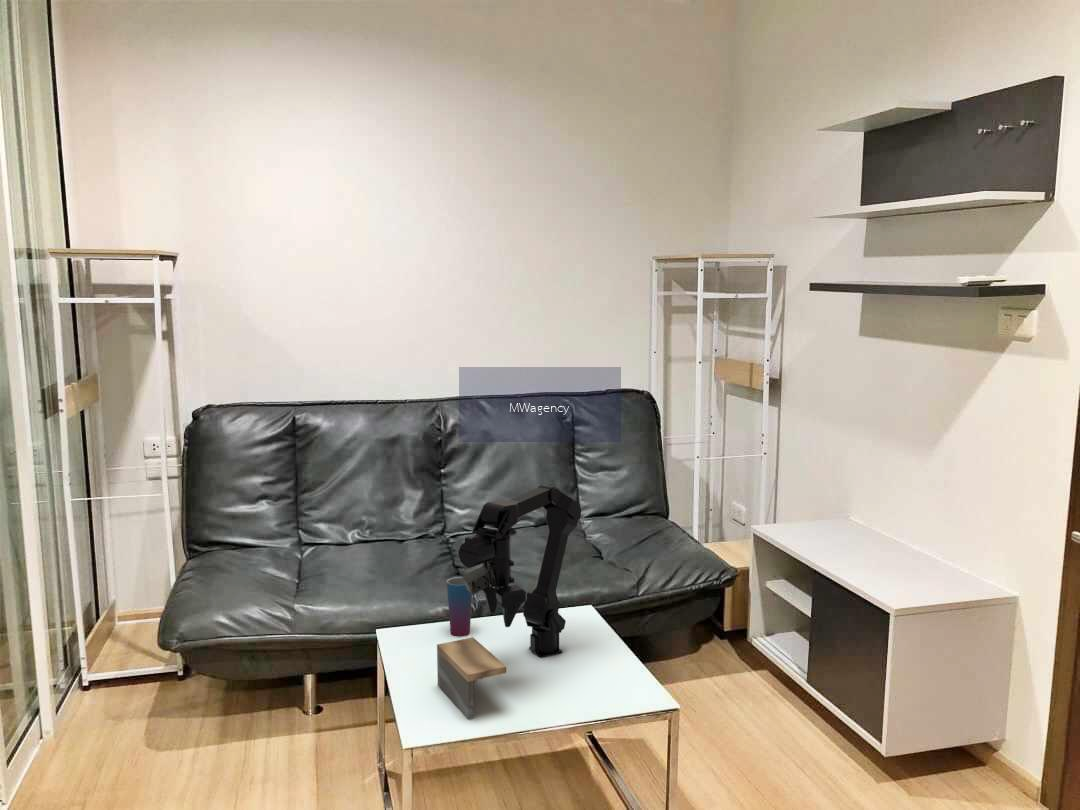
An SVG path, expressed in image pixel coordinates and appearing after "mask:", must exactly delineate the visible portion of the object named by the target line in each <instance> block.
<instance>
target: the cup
mask: <svg viewBox="0 0 1080 810" xmlns="http://www.w3.org/2000/svg"><path fill="white" fill-rule="evenodd" d="M462 577H463V576H454V577H451V578H448V579H447V580H446V589H447V601H448V602H447V605H448V616H449V617H448V619H449V630H450V634H451V636H453V637H458V638H459V637H460V638H461V637H466V636H469V634H470V633H471V620H472V619H471V617H472V602H473V601H472V599H473V597H472V596H473V594H471V593H470V591H468V590H467V589H466V586H465V584H464V581H463V579H462Z"/></svg>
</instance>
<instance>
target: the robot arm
mask: <svg viewBox="0 0 1080 810" xmlns="http://www.w3.org/2000/svg"><path fill="white" fill-rule="evenodd" d="M580 505H581V504H580V503H579V502H578V501H577V500H574V499H573V498H571V497H570V496H568V495H566V494H565V493H563V492H562V491H561V490H560V489H559V488H557V487H555V486H551V485H547V484H546V485H545V484H541V485H539V486H537V488H534V489H532V490H530V491H528V492H525V493H522V494H519V496H515V497H513V498H510V499H506V500H504V499H503V500H494V501H493V500H492V501H488V502H485V503H484V505H483V506H482V508H481V510H480V513H479V515H478V517H477V520H476V522H475V524H474V527H473V529H472V531H471V533H472V534H473V535H472V536H471V535H469V536H465V538H464V543H461V545H460V546H459V550H457V551H458V559H459V561H460V562H461V564H462V565H463V567H466V568H467V569H472V568H474V567H477V566H480V565H481V564H482V565H481V567H478V568H475V569H473V570H471V571H470V572H468V573H466V574H464V575H463V576H461V577H462V579H463V581H464V584H465V586H466V589H467V590H468V591H470V593H471V594H472V595H475V594H477V593H479V592H483V595H484V597H485V601H486V604H487V608H488V611H489V614H491V615H492V614H495V613H496V610H497V608H498V607H497V606H498V605H499V606H500V607H501V611H502V616H503V622H504V627H505V628H510V627H511V625H512V623H513V621H514V619H515V616H517V615H516V614H517V613H518V611H519V609H520V607H521V606H522V604H523V606H522V609H523V613H522V615H523V617H524V619H525V622H526V627H530V628H531V634H530V636H529V637H530V639H529V640H530V642H529V643H530V645H529V647H528V650H530V651H531V652H533V654H535V655H536V656H537V657H538V658H545V657H546V658H547V657H550V656H554V655H555V656H556V655H559V654H563V650H562V649H561V648H560V633H562V631H563V630H564V629H565V626H566V619H565V618H564V617H563V616H562V615H561V614H560V613H559V608H560V603H559V598H558V596H557V595H558V594H557V587H558V583H559V579H560V575H561V569H562V564H563V561H564V556H565V553H566V548H567V542H568V539H569V535H571V533H572V532H574V530H575V529H576V528H577V527H578V524H579V521H580V517H581V515H582V508H581V506H580ZM541 508H543V509H544V510H545V511H546V513H545V514H546V517H545V520H546V524H547V528H548V536H547V540H546V544H545V549H544V553H543V557H542V562H541V565H540V570H539V573H538V579H537V584H536V587H535V588H534V589H533V590H532V591H531V592H527V591H525V589H524V588H522V587H521V586H519V585H518V584H513V583H515V578H514V577H513V576H512V567H513V566H515V561H514V560H512V555H511V536H514V535H516V534H517V530H515V529H514V528H512V527H514V526H515V525H517V524H518V523H519V519H520V518H522V517H523V516H525V515H527V514H530V513H532V512H534V511H537V510H538V509H541ZM487 527H489V528H487ZM510 584H513V585H510Z"/></svg>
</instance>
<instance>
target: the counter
mask: <svg viewBox="0 0 1080 810" xmlns="http://www.w3.org/2000/svg"><path fill="white" fill-rule="evenodd" d="M436 653H437V654H436V655H437V657H436V659H437V661H436V663H437V665H436V666H437V668H436V669H437V687H438V688H439V689H440V690H441V692H443V694H444V695H445V696H446V697H447V698H448V699H449V700H450V701H451V702H452V704H454V705H455V707H456V708H457V709H458V710H459V711H460V712H461V713H462V714H463V716H464V717H465V718H466V719H467V720H468V721H469V720H472V719H474V681H477V680H481V679H485V678H490V677H494V676H499V675H504V674H506V673H507V665H505V664H504V663H503V662H502V661H501V660H500V659H498V658H497V656H496V655H494V654H493V653H492V652H491V651H489V649H487V648H486V647H485V646H484V645H482V643H480V642H479V641H478V640H477V639H476V638H474V636H473V637H468V638H463V639H456V640H453V641H449V642H448V641H447V642H442V643H438V644H436Z"/></svg>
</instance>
